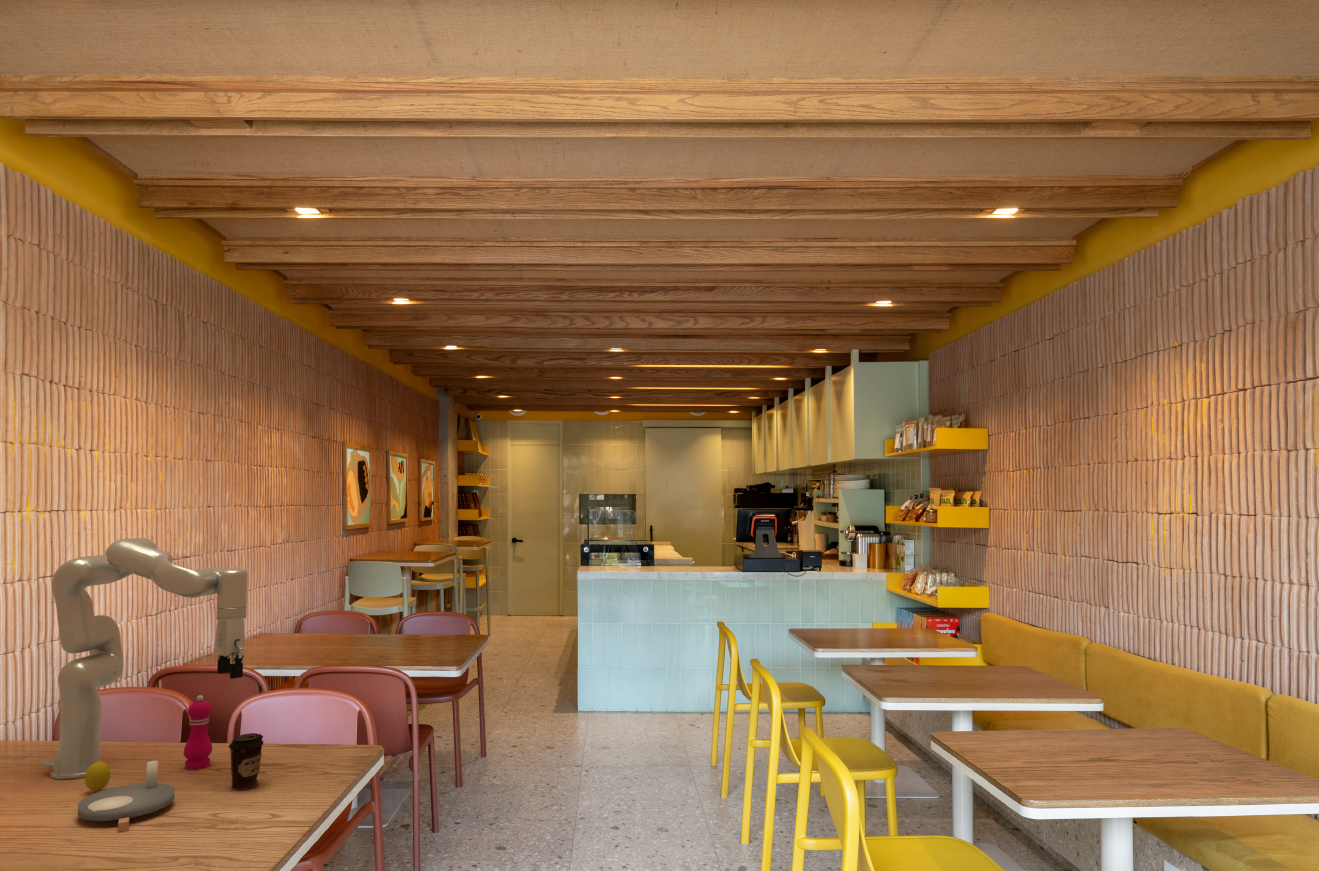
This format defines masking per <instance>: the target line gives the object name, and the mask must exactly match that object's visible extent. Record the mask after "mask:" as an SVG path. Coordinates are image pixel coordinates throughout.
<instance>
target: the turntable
mask: <svg viewBox="0 0 1319 871" xmlns="http://www.w3.org/2000/svg"><path fill="white" fill-rule="evenodd" d="M158 768H159V761H158V760H150V761H148V762H147V763H146V775H145V776H146V777H145V778H146V779H145V782H143V783H142V782H141V783H131V784H126V785H120V786H119V785H118V786H116V787H112V788H106V789H104V790H100V791H99V792H94V793H92V794H91V795H90V794H89V795H88V796H86V797H84V798H83V799H81V800H80V801H79V802H78V804H77V816H78V818H80V819H82V820H84V821H93V822H112V821H111V820H119V819H122V818H128V817H129V818H132V817H136V816H139V817H142V816H145V815H148V814H150V813H154V812H156V811H159V810H161V809H163V808H166V807H167V806H168V805H170V804H172V803H173V802H174V800H175V793H176V792H175V791H176V789H175V787H174V786H173V785H171V784H168V783H162V782H158V771H159V770H158ZM144 814H145V815H144ZM141 815H142V816H141ZM136 818H137V817H136ZM132 819H133V818H132Z"/></svg>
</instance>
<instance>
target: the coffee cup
mask: <svg viewBox="0 0 1319 871" xmlns="http://www.w3.org/2000/svg"><path fill="white" fill-rule="evenodd" d="M263 738H264V736H263V735H262V734H261V733H255V732H254V733H253V732H251V733H243V734H240V735H236V736H235V737H234V738H233V739H232V742H230V744H229V745H228V748H229V751H230V752H229V753H230V772H231V773H230V775H231V788H232V790H235V791H240V790H241V791H242V790H248V789H252V788H255V787H257V785H259V780H258V779H257V778H258V775H259V773H260V771H261V760H262V754H263V753H262V749H263V747H262V746H263V745H264V741H263Z"/></svg>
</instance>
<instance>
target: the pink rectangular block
mask: <svg viewBox="0 0 1319 871" xmlns="http://www.w3.org/2000/svg"><path fill="white" fill-rule="evenodd" d="M129 827H130V819H129V817H128V818H122V819H119V821H117V833H121V832H127V831H129V829H130V828H129Z"/></svg>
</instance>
